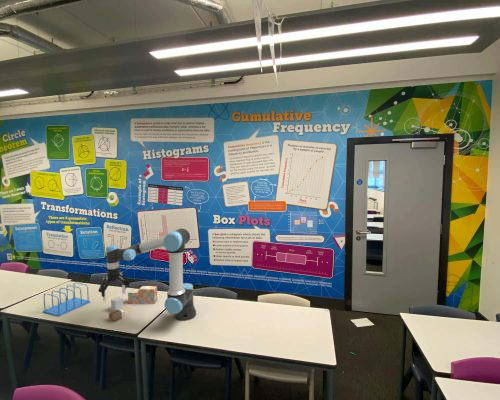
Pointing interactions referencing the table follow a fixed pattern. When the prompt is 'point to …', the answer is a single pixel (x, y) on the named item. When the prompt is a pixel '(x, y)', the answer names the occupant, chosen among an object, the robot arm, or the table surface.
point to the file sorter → (66, 303)
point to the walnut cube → (115, 315)
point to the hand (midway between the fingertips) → (114, 297)
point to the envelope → (125, 308)
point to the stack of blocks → (143, 295)
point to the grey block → (117, 303)
